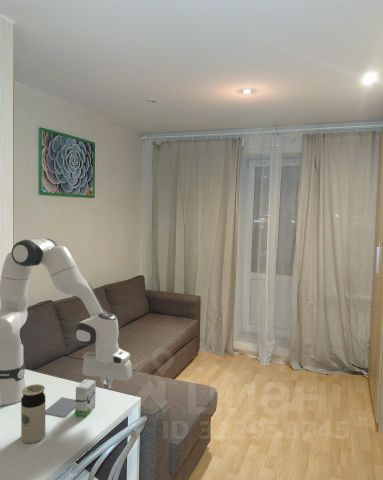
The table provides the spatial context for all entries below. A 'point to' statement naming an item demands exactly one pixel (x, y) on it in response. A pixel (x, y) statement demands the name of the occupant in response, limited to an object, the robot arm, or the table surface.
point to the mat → (61, 407)
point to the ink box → (85, 398)
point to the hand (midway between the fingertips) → (107, 387)
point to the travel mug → (33, 413)
